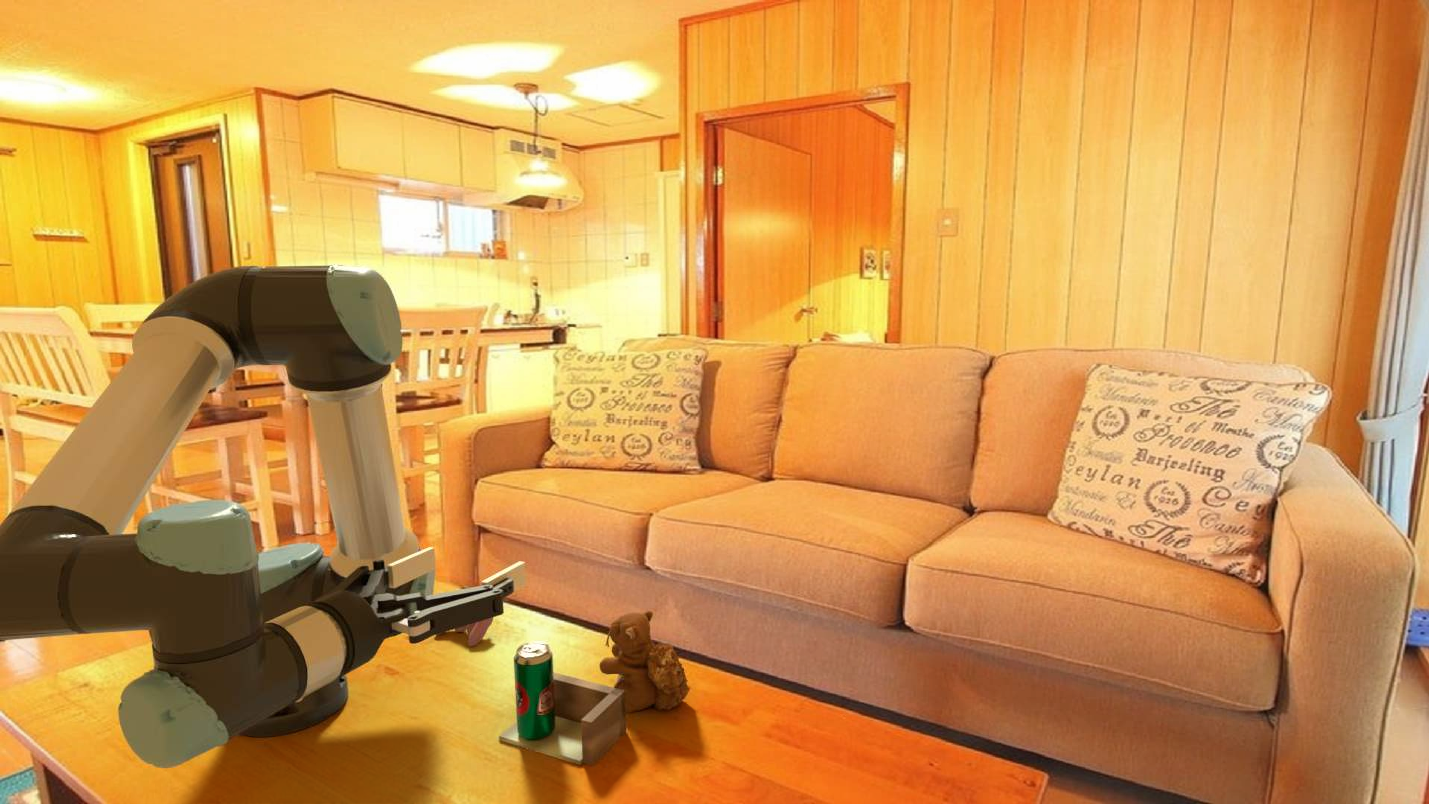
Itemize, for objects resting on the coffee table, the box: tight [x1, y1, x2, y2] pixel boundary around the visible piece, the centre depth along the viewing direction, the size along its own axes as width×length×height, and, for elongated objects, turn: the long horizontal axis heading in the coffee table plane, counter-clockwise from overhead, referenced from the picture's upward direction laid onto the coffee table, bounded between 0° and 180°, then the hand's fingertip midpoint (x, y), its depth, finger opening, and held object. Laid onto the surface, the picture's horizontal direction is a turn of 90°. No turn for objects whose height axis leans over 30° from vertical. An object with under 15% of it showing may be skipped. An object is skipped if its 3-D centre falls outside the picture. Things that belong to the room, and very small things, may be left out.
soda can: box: [513, 641, 556, 740], centre depth 102 cm, size 5×5×12 cm
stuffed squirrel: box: [598, 610, 691, 714], centre depth 110 cm, size 10×14×13 cm
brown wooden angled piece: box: [498, 671, 627, 767], centre depth 103 cm, size 18×9×6 cm, turn 66°
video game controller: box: [436, 617, 494, 647], centre depth 132 cm, size 10×5×7 cm, turn 61°
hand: (476, 565), depth 90 cm, fingers open, 13 cm apart
